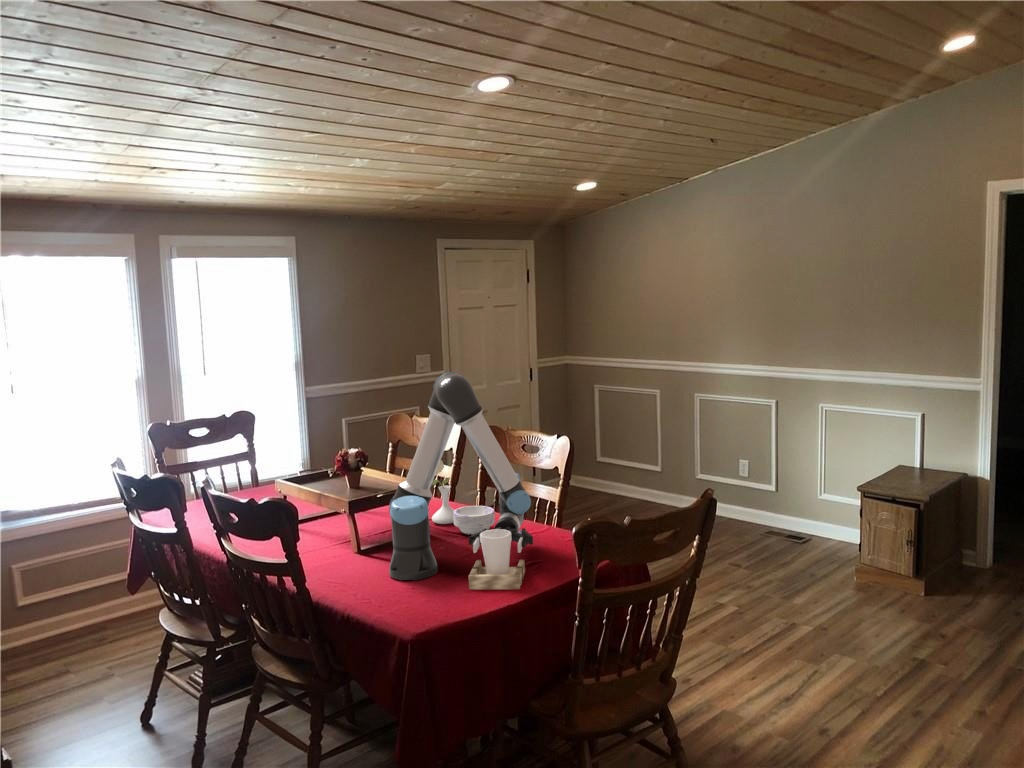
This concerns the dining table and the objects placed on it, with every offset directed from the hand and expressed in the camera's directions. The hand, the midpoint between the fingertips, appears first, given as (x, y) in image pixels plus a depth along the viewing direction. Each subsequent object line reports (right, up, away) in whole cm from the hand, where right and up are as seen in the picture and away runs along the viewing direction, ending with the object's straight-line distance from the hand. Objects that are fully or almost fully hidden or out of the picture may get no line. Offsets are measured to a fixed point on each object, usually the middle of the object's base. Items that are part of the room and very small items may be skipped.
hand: (496, 548), depth 240 cm
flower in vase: (-21, -4, +68) cm, 71 cm away
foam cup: (0, -9, +2) cm, 9 cm away
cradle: (0, -10, +2) cm, 10 cm away
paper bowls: (-9, -5, +54) cm, 55 cm away
